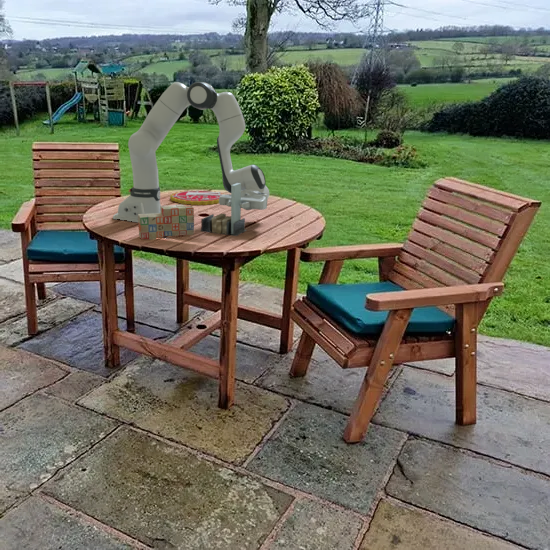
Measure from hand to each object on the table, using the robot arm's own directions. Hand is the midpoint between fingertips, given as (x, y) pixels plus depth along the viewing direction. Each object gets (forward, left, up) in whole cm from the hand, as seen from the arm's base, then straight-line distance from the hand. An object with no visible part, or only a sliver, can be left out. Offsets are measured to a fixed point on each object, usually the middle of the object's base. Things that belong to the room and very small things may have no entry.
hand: (235, 205), depth 216 cm
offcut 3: (-3, +1, -12) cm, 12 cm away
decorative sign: (-37, +63, -13) cm, 75 cm away
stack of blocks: (-26, -10, -13) cm, 31 cm away
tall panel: (0, +1, -12) cm, 12 cm away
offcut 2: (-5, +2, -12) cm, 13 cm away
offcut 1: (-8, +2, -12) cm, 14 cm away
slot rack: (-5, +2, -13) cm, 14 cm away
